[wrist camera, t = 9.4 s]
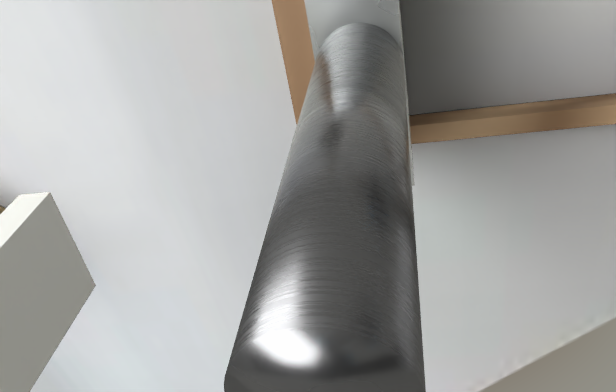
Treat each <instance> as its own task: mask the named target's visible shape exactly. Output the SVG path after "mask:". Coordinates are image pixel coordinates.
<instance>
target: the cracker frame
mask: <svg viewBox="0 0 616 392" xmlns="http://www.w3.org/2000/svg"><path fill="white" fill-rule="evenodd" d="M272 4H273V9H274V14H275V19H276V24H277V29H278V34H279V39H280V44H281V49H282V54H283V59H284V64H285V69H286V74H287V79H288V84H289V89H290V94H291V99H292V104H293V109H294V114H295V119H296V124H298V120H299V117H300V113H301V110H302V106H303V103H304V99H305V96H306V92H307V89H308V85H309V82H310V78H311V75H312V71H313V68H314V65H315V60H314V54H313V48H312V42H311V37H310V31H309V25H308V19H307V13H306V8H305V2H304V0H272ZM409 119H410V132H411V144H416V143H426V142H436V141H446V140H456V139H467V138H477V137H487V136H497V135H507V134H518V133H528V132H538V131H548V130H558V129H569V128H579V127H589V126H599V125H609V124H616V94H606V95H597V96H588V97H578V98H569V99H560V100H550V101H541V102H532V103H522V104H513V105H504V106H494V107H485V108H476V109H466V110H457V111H448V112H438V113H429V114H420V115H410V116H409Z"/></svg>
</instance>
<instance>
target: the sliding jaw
mask: <svg viewBox="0 0 616 392" xmlns="http://www.w3.org/2000/svg"><path fill="white" fill-rule="evenodd" d="M304 2H305V8H306V13H307V19H308V25H309V31H310V37H311V42H312V48H313V54H314V60H315V65H314V68H313V71H312V75H311V78H310V82H309V85H308V89H307V92H306V96H305V99H304V103H303V106H302V110H301V113H300V117H299V120H298V124H297V127H296V131H295V134H294V138H293V141H292V145H291V148H290V152H289V155H288V159H287V162H286V166H285V169H284V172H283V176H282V179H281V183H280V186H279V190H278V193H277V197H276V200H275V204H274V207H273V211H272V214H271V218H270V221H269V225H268V228H267V232H266V235H265V239H264V242H263V246H262V249H261V253H260V256H259V260H258V263H257V266H256V270H255V273H254V277H253V280H252V284H251V287H250V291H249V294H248V298H247V301H246V305H245V308H244V312H243V315H242V319H241V322H240V326H239V329H238V333H237V336H236V340H235V343H234V347H233V350H232V354H231V357H230V361H229V364H228V367H227V371H226V374H225V380H224V391H225V392H426V391H425V376H424V361H423V346H422V331H421V316H420V301H419V286H418V271H417V256H416V241H415V226H414V211H413V196H412V185H414V173H413V159H412V146H411V132H410V119H409V105H408V93H407V82H406V70H405V59H404V47H403V36H402V24H401V13H400V1H399V0H304Z"/></svg>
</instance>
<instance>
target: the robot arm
mask: <svg viewBox="0 0 616 392" xmlns="http://www.w3.org/2000/svg"><path fill="white" fill-rule="evenodd" d="M95 286H96V285H95V283H94V281H93V279H92V277H91V275H90V273H89V271H88V269H87V267H86V265H85V263H84V261H83V259H82V256H81V254H80V252H79V250H78V248H77V246H76V244H75V242H74V240H73V238H72V236H71V234H70V232H69V230H68V228H67V226H66V224H65V222H64V220H63V218H62V216H61V214H60V211H59V209H58V207H57V205H56V203H55V201H54V199H53V197H52V195H51V193H50V192H45V193H33V194H22V195H19V196H18V197H17V198H16V199H15V200H14V201H13V202H12V203H11V204H10V205H9V206H8V207H7V208H6V209H5V210H4V211H3V212H2V213H1V214H0V392H30V390H31V389H32V387H33V385H34V384H35V382H36V381H37V379H38V377H39V376H40V374H41V373H42V371H43V369H44V368H45V366H46V365H47V363H48V361H49V360H50V358H51V357H52V355H53V353H54V352H55V350H56V349H57V347H58V345H59V344H60V342H61V340H62V339H63V337H64V336H65V334H66V332H67V331H68V329H69V328H70V326H71V324H72V323H73V321H74V320H75V318H76V316H77V315H78V313H79V312H80V310H81V308H82V307H83V305H84V304H85V302H86V300H87V299H88V297H89V296H90V294H91V292H92V291H93V289H94V287H95Z"/></svg>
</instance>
